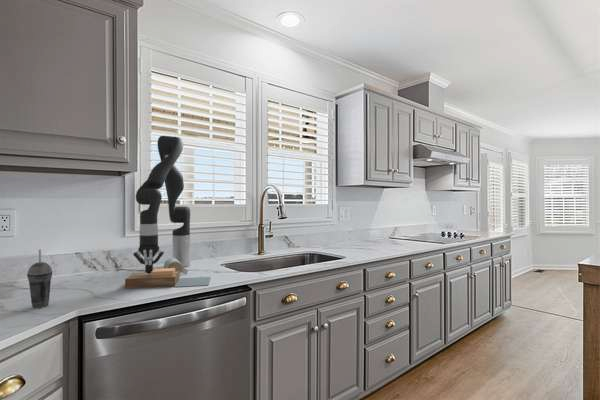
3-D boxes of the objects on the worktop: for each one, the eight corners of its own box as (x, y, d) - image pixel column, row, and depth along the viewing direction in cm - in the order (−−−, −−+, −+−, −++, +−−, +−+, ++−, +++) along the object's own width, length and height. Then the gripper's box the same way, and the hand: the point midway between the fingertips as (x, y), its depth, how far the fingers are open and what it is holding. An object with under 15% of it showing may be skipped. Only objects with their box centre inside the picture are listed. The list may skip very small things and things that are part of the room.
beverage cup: (26, 311, 118) (26, 252, 117) (27, 306, 123) (27, 249, 123) (53, 307, 122) (52, 250, 122) (52, 302, 128) (52, 247, 128)
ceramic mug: (168, 276, 168) (168, 261, 168) (163, 273, 175) (163, 258, 175) (190, 274, 174) (190, 258, 174) (184, 271, 181) (185, 256, 181)
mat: (180, 278, 164) (180, 278, 164) (210, 277, 167) (210, 276, 167) (174, 287, 148) (174, 286, 148) (208, 285, 151) (208, 284, 151)
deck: (133, 281, 158) (133, 273, 158) (179, 279, 162) (179, 271, 162) (125, 288, 146) (125, 279, 146) (175, 286, 150) (175, 276, 150)
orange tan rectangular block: (154, 273, 157) (154, 269, 157) (175, 272, 159) (175, 268, 159) (151, 276, 151) (151, 271, 151) (173, 275, 153) (173, 270, 153)
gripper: (166, 232, 159) (166, 271, 159) (135, 233, 156) (135, 272, 156) (162, 234, 151) (163, 274, 151) (130, 235, 149) (130, 275, 149)
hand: (149, 273), depth 154 cm, fingers closed
